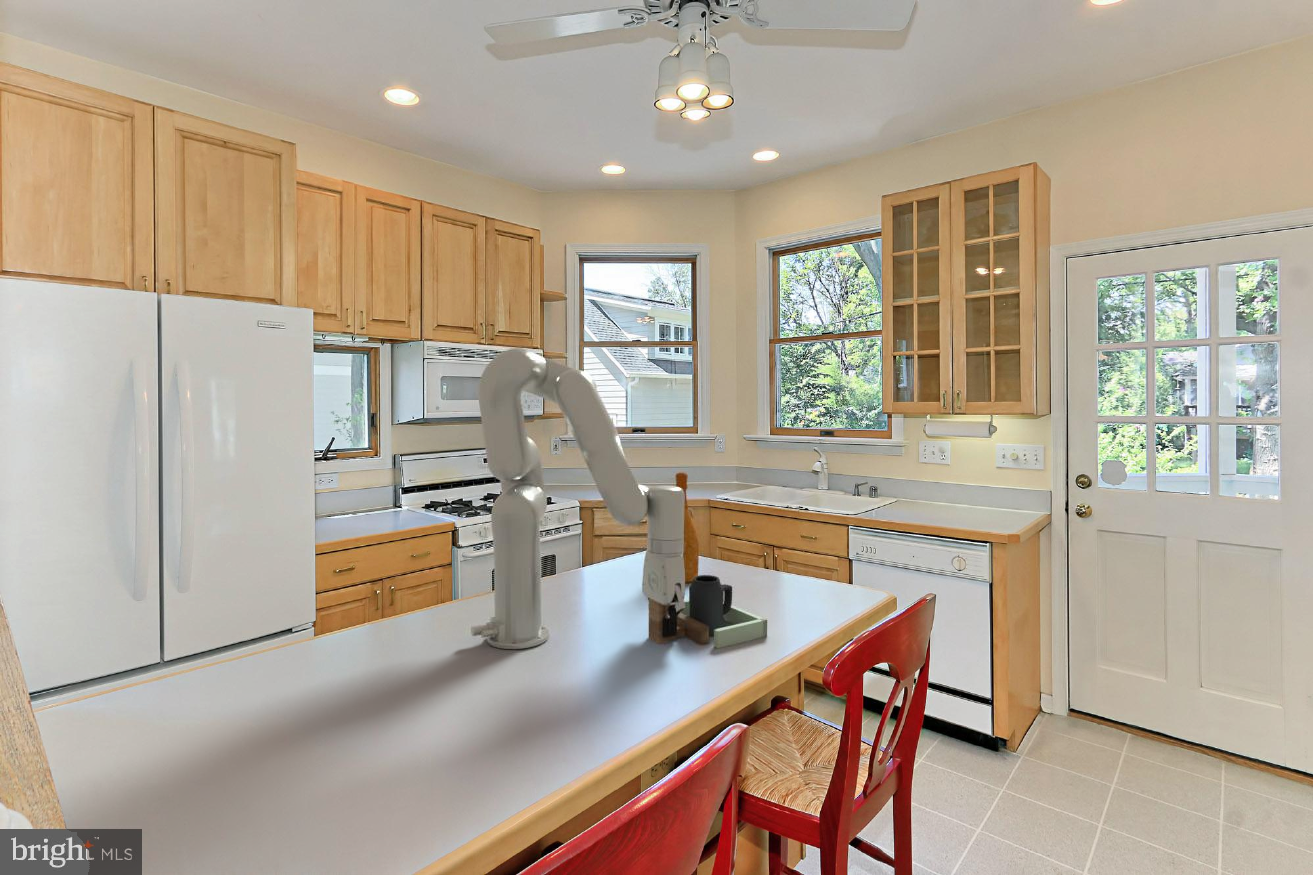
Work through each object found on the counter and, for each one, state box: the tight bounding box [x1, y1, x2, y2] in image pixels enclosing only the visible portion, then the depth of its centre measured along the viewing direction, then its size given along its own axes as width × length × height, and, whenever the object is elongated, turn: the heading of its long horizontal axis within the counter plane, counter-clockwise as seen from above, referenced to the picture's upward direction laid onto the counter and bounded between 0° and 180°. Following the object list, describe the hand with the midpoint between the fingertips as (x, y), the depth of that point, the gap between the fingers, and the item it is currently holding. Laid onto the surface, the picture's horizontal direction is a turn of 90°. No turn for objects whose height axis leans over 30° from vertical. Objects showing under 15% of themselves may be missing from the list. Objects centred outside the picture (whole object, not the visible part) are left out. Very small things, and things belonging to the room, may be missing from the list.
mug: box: [688, 574, 733, 638], centre depth 143 cm, size 12×9×11 cm
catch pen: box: [680, 599, 768, 649], centre depth 143 cm, size 13×20×4 cm, turn 32°
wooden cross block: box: [648, 598, 710, 646], centre depth 138 cm, size 9×14×9 cm, turn 32°
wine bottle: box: [675, 471, 700, 584], centre depth 182 cm, size 10×10×30 cm
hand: (663, 631), depth 137 cm, fingers closed on wooden cross block, 4 cm apart
